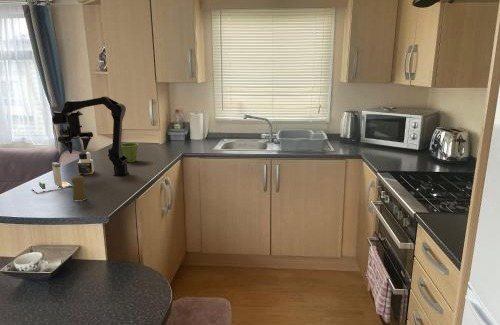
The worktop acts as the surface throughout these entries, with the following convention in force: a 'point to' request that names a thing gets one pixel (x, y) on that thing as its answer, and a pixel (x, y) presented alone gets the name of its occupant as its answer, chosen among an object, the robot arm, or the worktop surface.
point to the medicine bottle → (85, 163)
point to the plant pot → (130, 151)
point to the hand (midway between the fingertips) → (78, 151)
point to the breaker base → (64, 184)
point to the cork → (78, 188)
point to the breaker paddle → (57, 173)
